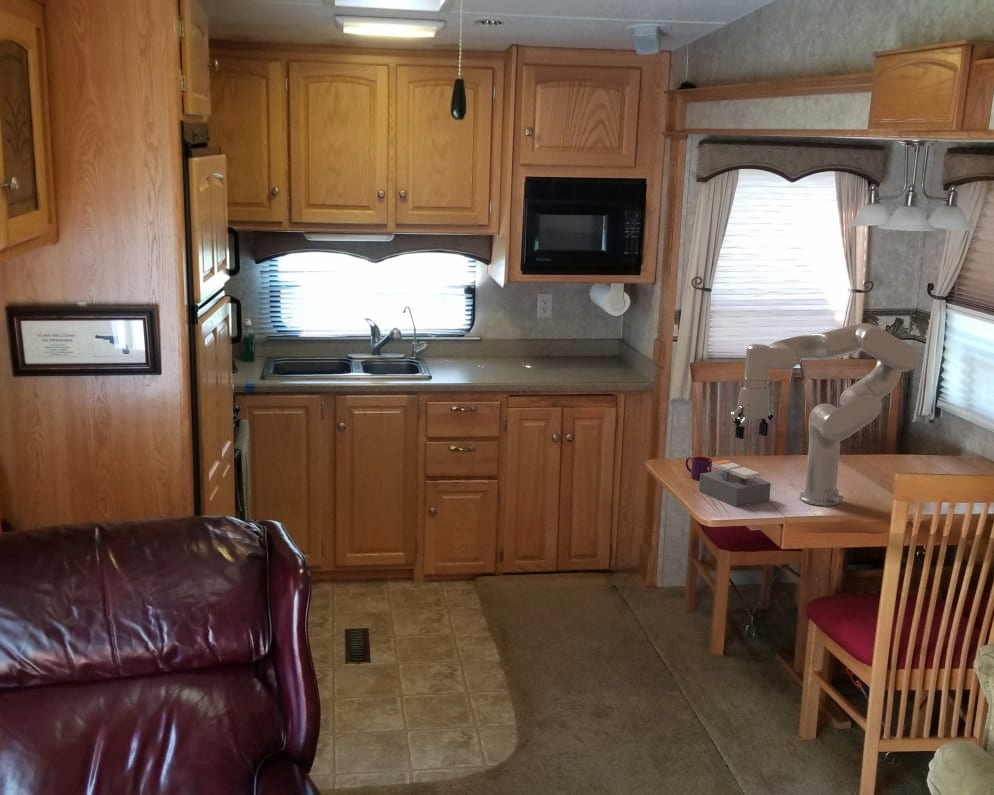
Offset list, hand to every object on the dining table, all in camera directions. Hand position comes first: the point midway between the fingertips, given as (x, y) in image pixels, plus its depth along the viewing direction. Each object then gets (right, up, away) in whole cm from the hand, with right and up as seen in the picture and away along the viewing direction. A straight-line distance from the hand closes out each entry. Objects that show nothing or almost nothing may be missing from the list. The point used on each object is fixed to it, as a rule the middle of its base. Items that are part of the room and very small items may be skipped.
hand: (751, 436), depth 325 cm
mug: (-11, -15, +29) cm, 35 cm away
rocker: (-3, -11, +7) cm, 13 cm away
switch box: (-4, -20, +9) cm, 22 cm away
